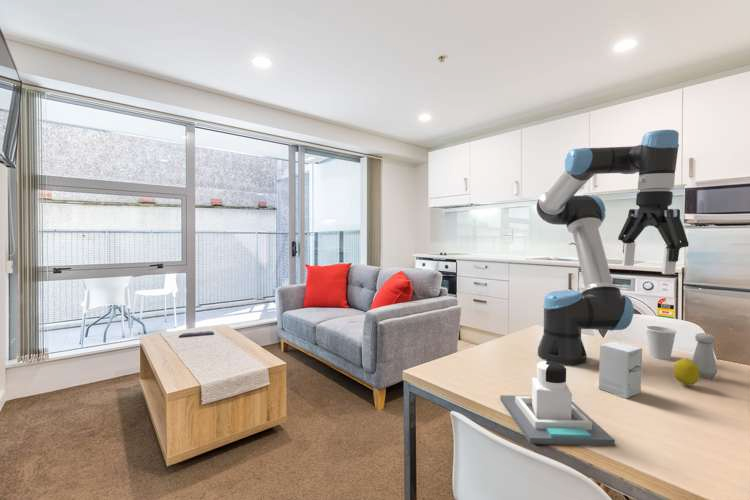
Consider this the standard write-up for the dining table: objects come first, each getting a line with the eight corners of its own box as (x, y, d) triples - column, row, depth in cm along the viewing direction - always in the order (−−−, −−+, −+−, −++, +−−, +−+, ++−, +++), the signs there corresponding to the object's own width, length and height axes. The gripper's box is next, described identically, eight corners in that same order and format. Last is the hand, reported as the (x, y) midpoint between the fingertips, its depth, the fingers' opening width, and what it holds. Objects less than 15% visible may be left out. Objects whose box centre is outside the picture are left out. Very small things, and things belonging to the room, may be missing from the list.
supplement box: (627, 399, 90) (628, 352, 89) (597, 388, 96) (598, 344, 96) (641, 393, 93) (643, 347, 93) (612, 383, 100) (613, 340, 99)
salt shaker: (722, 381, 101) (724, 337, 100) (699, 379, 102) (701, 336, 101) (707, 373, 107) (709, 332, 106) (686, 372, 108) (687, 331, 107)
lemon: (667, 382, 100) (668, 355, 100) (685, 381, 101) (686, 354, 100) (686, 390, 95) (687, 362, 94) (704, 389, 95) (706, 361, 95)
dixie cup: (672, 355, 123) (673, 327, 122) (677, 362, 116) (678, 333, 115) (643, 351, 127) (644, 324, 127) (646, 358, 120) (647, 329, 120)
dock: (500, 399, 90) (500, 389, 90) (566, 401, 89) (567, 390, 89) (529, 443, 71) (530, 430, 71) (614, 445, 70) (614, 432, 70)
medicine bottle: (564, 409, 82) (565, 360, 82) (571, 425, 76) (572, 371, 75) (531, 405, 84) (532, 357, 84) (536, 420, 78) (537, 367, 77)
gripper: (608, 193, 104) (602, 262, 106) (683, 187, 79) (673, 278, 81) (632, 193, 104) (625, 262, 106) (715, 188, 79) (704, 278, 82)
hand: (646, 269), depth 94 cm, fingers open, 13 cm apart
